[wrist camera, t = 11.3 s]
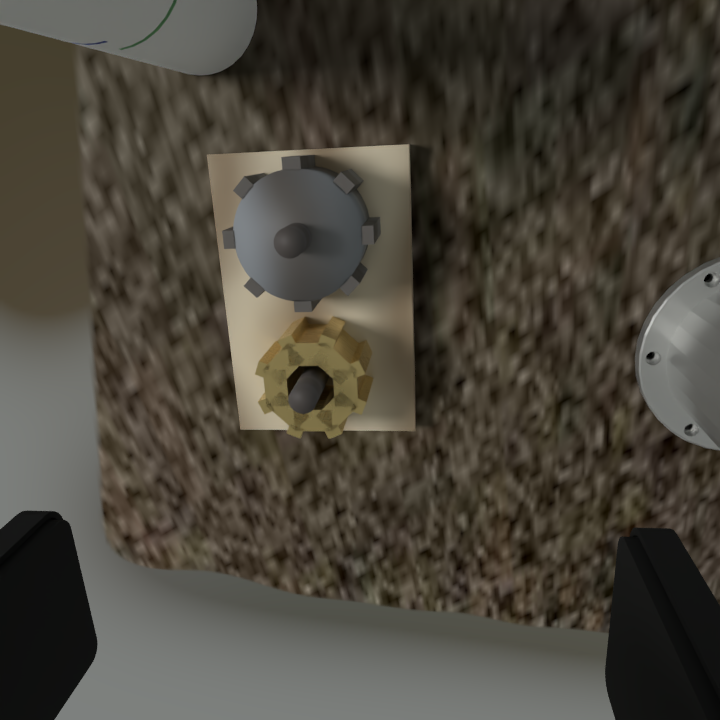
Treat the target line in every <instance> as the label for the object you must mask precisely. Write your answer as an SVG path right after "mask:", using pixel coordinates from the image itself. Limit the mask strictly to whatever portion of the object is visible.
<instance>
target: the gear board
mask: <svg viewBox="0 0 720 720" xmlns="http://www.w3.org/2000/svg"><path fill="white" fill-rule="evenodd" d="M207 159H208V167H209V176H210V184H211V192H212V200H213V208H214V216H215V225H216V233H217V241H218V249H219V257H220V265H221V273H222V282H223V290H224V298H225V306H226V314H227V322H228V330H229V339H230V347H231V355H232V363H233V371H234V379H235V387H236V396H237V404H238V412H239V420H240V428H241V429H245V430H288V428H289V425H288V424H287V423H285V422H284V421H283V420H282V419H281V418H280V417H278V416H277V415H276V414H275V413H274V412H273V411H272V412H270V413H267V414H264V412H263V411H262V409H261V407H260V405H259V403H258V401H259V399H260V398H261V396H262V395H263V394H264V392H265V388H264V379H263V377H260V376H258V375H255V372H256V368H257V365H258V362H259V360H260V359H261V358H262V357H263V355H264V354H265V353H266V352H267V351H268V349H269V348H270V347H271V346H272V345H273V343H274V342H275V341H278V339H279V338H280V337H281V336H282V335H283V333H284V332H285V331H286V330H287V329H288V327H289V326H290V325H291V324H292V322H294V321H296V320H298V319H301V318H303V317H306V319H307V321H308V323H309V324H328V323H329V321H330V320H331V318H332V316H334V317H337V318H339V319H342V320H344V321H346V322H345V325H344V328H343V329H344V330H345V331H346V332H347V333H348V334H349V335H350V336H351V337H353V338H354V339H355V340H356V341H357V342H358V343H360V342H362V341H365V340H367V342H368V344H369V346H370V348H371V350H372V355H371V358H370V361H369V364H368V367H367V370H366V375H367V376H370V377H372V378H373V382H372V385H371V389H370V392H369V396H368V399H367V403H366V405H365V408H364V410H363V413H362V415H360V414H358V413H355V412H352V413H351V414H350V415H349V416H348V418H347V421H346V424H345V427H344V430H357V431H415V429H416V400H415V354H414V308H413V262H412V216H411V170H410V144H405V145H386V146H367V147H347V148H328V149H308V150H289V151H270V152H250V153H231V154H212V155H207ZM325 385H334V384H333V378H331V377H330V376H329V375H328V374H327V373H326V372H325V371H324V370H322V369H321V368H320V367H319V366H302V374H301V376H300V378H299V379H298V381H297V383H296V384H295V386H294V388H293V389H292V391H291V393H290V394H289V397H288V402H289V405H290V407H291V408H292V409H293V410H294V411H295V412H297V413H301V414H306V413H309V412H311V411H312V410H313V409H314V408H315V406H316V404H317V402H318V400H319V398H320V396H321V393H322V391H323V389H324V387H325Z"/></svg>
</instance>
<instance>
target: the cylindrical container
mask: <svg viewBox="0 0 720 720" xmlns="http://www.w3.org/2000/svg"><path fill="white" fill-rule="evenodd" d="M256 20H257V0H0V24H2V25H5V26H9V27H13V28H17V29H21V30H24V31H28V32H32V33H36V34H39V35H43V36H47V37H51V38H55V39H58V40H62V41H66V42H70V43H73V44H77V45H81V46H85V47H88V48H92V49H96V50H100V51H103V52H107V53H111V54H115V55H119V56H122V57H126V58H130V59H134V60H137V61H141V62H145V63H149V64H152V65H156V66H160V67H164V68H168V69H171V70H175V71H179V72H183V73H187V74H191V75H200V76H201V75H211V74H214V73H217V72H221V71H223V70H224V69H226V68H228V67H230V66H231V65H233V64H234V63H235V62H236V61H237V60H238V59H239V58H240V57H241V56H242V54H243V53H244V51H245V50H246V48H247V47H248V46H249V43H250V41H251V38H252V36H253V34H254V30H255V25H256Z"/></svg>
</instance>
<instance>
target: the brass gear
mask: <svg viewBox="0 0 720 720" xmlns="http://www.w3.org/2000/svg"><path fill="white" fill-rule="evenodd" d="M345 322H346V321H344V320H342V319H339V318H337V317H334V316H332V318H331V320H330V321H329V323H328V324H309V323H308V321H307V319H306V317H303V318H301V319H298V320H296V321H294V322H292V324H291V325H290V326H289V327H288V329H287V330H286V331H285V332H284V333H283V335H282V336H281V337H280V338H279V339H278V341H275V342H274V343H273V345H272V346H271V347H270V348H269V349H268V351H267V352H266V353H265V354H264V355H263V357H262V358H261V359H260V360H259V362H258V365H257V368H256V372H255V375H258V376H260V377H263V379H264V388H265V392H264V394H263V395H262V396H261V398H260V399H259V401H258V403H259V405H260V407H261V409H262V411H263V412H264V414H267V413H270V412H272V411H273V412H274V413H275V414H276V415H277V416H278V417H280V418H281V419H282V420H283V421H284V422H285V423H287V424H288V425H289V428H288V431H287V434H290V435H292V436H295V437H297V438H301V436H302V434H303V432H304V431H325V433H326V434H327V436H328V438H329V439H330V438H333V437H335V436H338V435H340V434H342V432H343V430H344V427H345V424H346V421H347V418H348V416H349V415H350V414H351V413H352V412H355V413H358V414H360V415H362V413H363V410H364V408H365V405H366V403H367V399H368V396H369V392H370V389H371V385H372V382H373V378H372V377H370V376H367V375H366V370H367V367H368V364H369V361H370V358H371V355H372V350H371V348H370V346H369V344H368V342H367V340H365V341H362V342H360V343H358V342H357V341H356V340H355V339H354V338H353V337H351V336H350V335H349V334H348V333H347V332H346V331H345V330H344V329H343V328H344V325H345ZM302 366H319V367H320V368H321V369H322V370H324V371H325V372H326V373H327V374H328V375H329V376H330V377H331V378H333V384H334V385H325V387H324V389H323V391H322V393H321V396H320V398H319V400H318V402H317V404H316V406H315V408H314V409H313V410H312V411H311V412H309V413H306V414H301V413H297V412H295V411H294V410H293V409H292V408H291V407H290V405H289V402H288V397H289V394H290V393H291V391H292V389H293V388H294V386H295V384H296V383H297V381H298V379H299V378H300V376H301V374H302Z"/></svg>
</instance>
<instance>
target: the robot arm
mask: <svg viewBox="0 0 720 720" xmlns="http://www.w3.org/2000/svg"><path fill="white" fill-rule="evenodd" d="M708 274H710V278H709V279H708V280H707V281H704V279H705V276H706V275H708ZM650 352H653V354H652V356H650V357H646V356H647V354H649V353H650ZM635 370H636V378H637V382H638V385H639V389H640V392H641V394H642V396H643V398H644V400H645V402H646V403H647V405H648V407H649V409H650V410H651V411H652V412H653V413H654V415H655V416H656V417H657V419H658V420H659V421H660V422H661V423H662V424H663V425H664V426H665V427H667V428H668V429H669V430H670V431H671V432H672V433H674V434H675V435H677V436H679V437H680V438H682V439H683V440H685V441H687V442H690V443H693V444H696V445H698V446H701V447H704V448H708V449H714V450H719V451H720V257H719V258H717V259H714V260H711V261H709V262H706V263H704V264H702V265H701V266H699V267H697V268H695V269H694V270H692V271H690V272H689V273H687V274H685V275H684V276H683V277H682V278H680V279H679V280H678V281H677V282H676V283H674V284H673V285H672V286H671V287H670V288H668V290H667V291H666V292H665V293H664V294H663V295H662V296H661V298H660V299H659V300H658V301H657V302H656V303H655V305H654V306H653V308H652V310H651V311H650V313H649V315H648V316H647V318H646V320H645V321H644V324H643V327H642V329H641V332H640V335H639V338H638V341H637V347H636V354H635ZM688 424H690V425H689V426H688V427H686V426H687V425H688ZM96 651H97V637H96V633H95V629H94V624H93V620H92V616H91V611H90V607H89V603H88V599H87V594H86V590H85V586H84V582H83V577H82V573H81V569H80V564H79V560H78V556H77V551H76V547H75V543H74V539H73V535H72V530H71V527H70V524H69V523H68V522H67V521H65V520H63V518H62V516H61V515H60V514H59V513H57V512H54V511H22V512H21V513H19V514H18V515H16V516H15V517H14V518H13V519H12V520H11V521H9V522H8V523H7V524H6V525H5V526H4V527H3V528H1V529H0V720H54V719H55V718H56V716H57V715H58V713H59V712H60V710H61V709H62V707H63V706H64V704H65V703H66V701H67V700H68V698H69V697H70V695H71V694H72V692H73V691H74V689H75V688H76V686H77V685H78V683H79V682H80V680H81V679H82V678H83V676H84V674H85V673H86V672H87V670H88V668H89V667H90V665H91V664H92V662H93V660H94V658H95V654H96ZM605 675H606V676H605V678H606V687H607V692H608V696H609V699H610V703H611V706H612V710H613V713H614V716H615V720H720V606H719V604H718V602H717V601H716V599H715V597H714V595H713V594H712V592H711V590H710V589H709V587H708V585H707V584H706V582H705V580H704V579H703V577H702V575H701V574H700V572H699V570H698V569H697V567H696V565H695V564H694V562H693V560H692V559H691V557H690V555H689V554H688V552H687V550H686V549H685V547H684V545H683V544H682V542H681V540H680V539H679V537H678V535H677V534H676V532H675V531H674V530H672V529H663V528H634V529H632V531H631V534H630V537H620V539H619V541H618V549H617V559H616V568H615V578H614V588H613V598H612V608H611V618H610V628H609V638H608V648H607V658H606V668H605Z"/></svg>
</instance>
